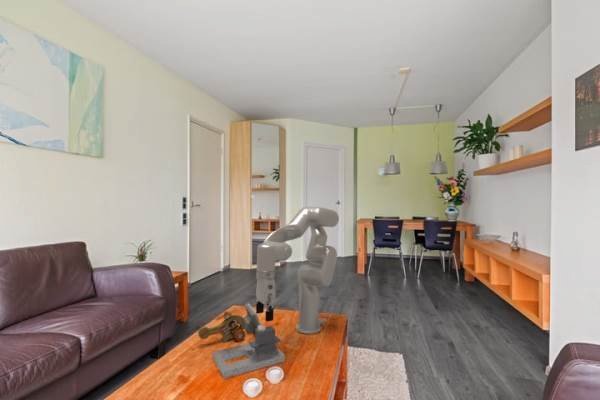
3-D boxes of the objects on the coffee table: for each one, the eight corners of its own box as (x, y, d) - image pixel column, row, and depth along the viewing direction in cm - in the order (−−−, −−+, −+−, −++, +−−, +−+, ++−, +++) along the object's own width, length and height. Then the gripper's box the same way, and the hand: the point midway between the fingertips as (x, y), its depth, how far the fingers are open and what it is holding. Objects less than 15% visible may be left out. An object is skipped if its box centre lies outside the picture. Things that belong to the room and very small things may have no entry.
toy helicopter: (247, 339, 133) (248, 309, 134) (200, 351, 122) (201, 318, 122) (240, 332, 140) (241, 304, 140) (195, 343, 129) (196, 312, 129)
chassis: (268, 344, 129) (268, 338, 129) (284, 361, 116) (284, 354, 116) (212, 357, 117) (213, 351, 117) (224, 378, 104) (224, 371, 104)
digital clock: (263, 335, 138) (263, 312, 138) (243, 337, 136) (244, 314, 136) (260, 321, 154) (260, 301, 154) (243, 323, 152) (243, 302, 152)
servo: (275, 343, 125) (276, 320, 125) (280, 347, 121) (280, 324, 121) (249, 350, 119) (249, 326, 119) (253, 355, 115) (253, 330, 115)
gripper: (283, 278, 115) (282, 322, 114) (265, 269, 130) (264, 308, 129) (265, 280, 111) (264, 326, 110) (249, 271, 126) (248, 311, 125)
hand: (264, 316), depth 120 cm, fingers open, 9 cm apart
